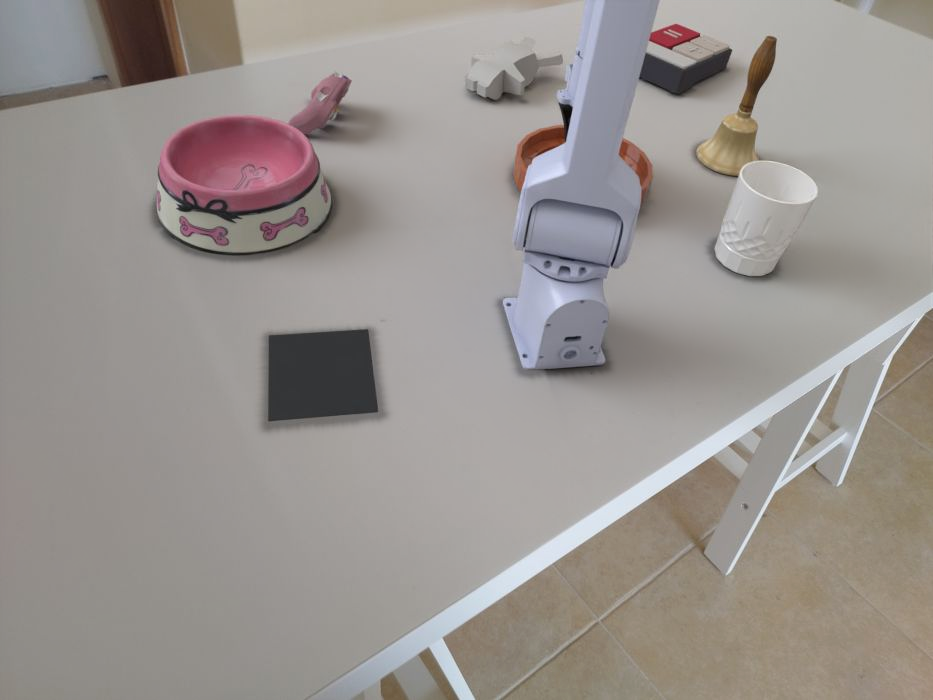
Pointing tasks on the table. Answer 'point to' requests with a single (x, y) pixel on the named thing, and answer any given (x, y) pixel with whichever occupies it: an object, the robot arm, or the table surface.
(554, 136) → the terracotta bowl
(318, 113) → the video game controller
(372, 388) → the mat
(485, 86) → the white lobed flat block
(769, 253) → the white cup
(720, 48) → the calculator
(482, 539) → the table surface
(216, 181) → the dog bowl
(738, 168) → the hand bell
